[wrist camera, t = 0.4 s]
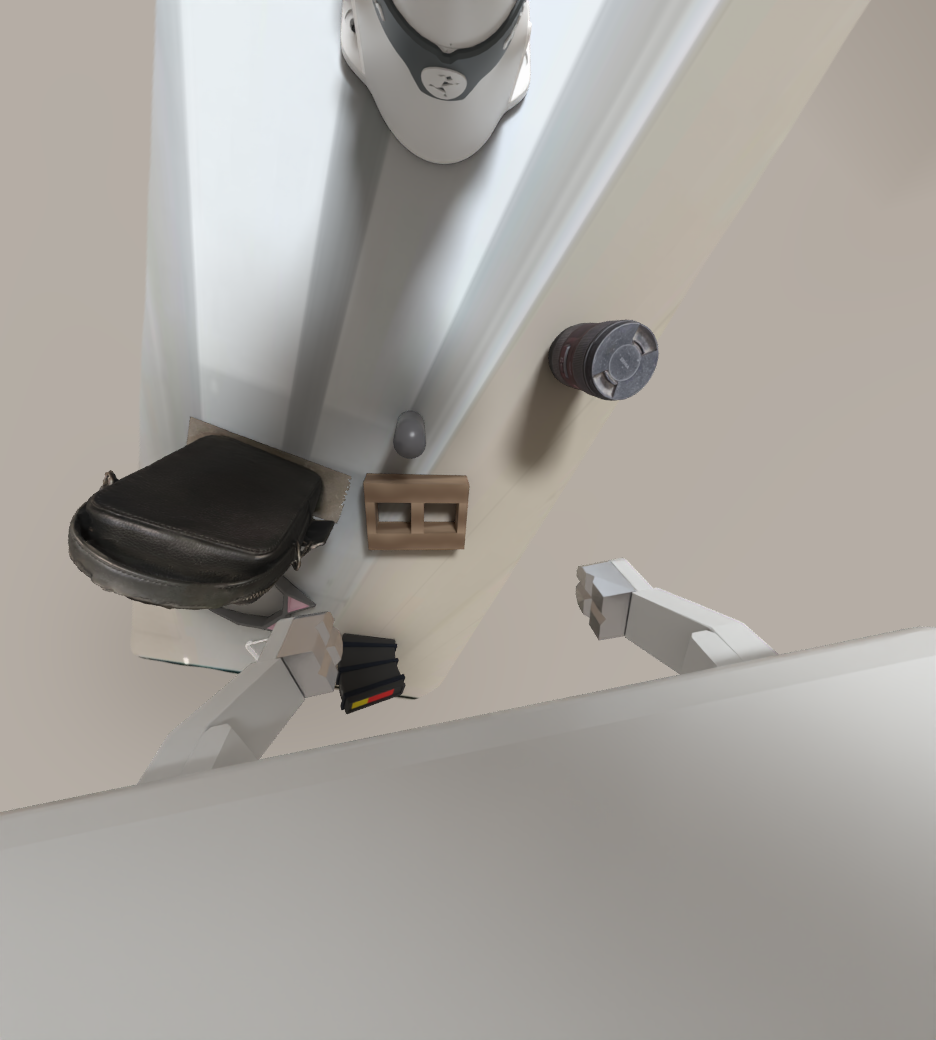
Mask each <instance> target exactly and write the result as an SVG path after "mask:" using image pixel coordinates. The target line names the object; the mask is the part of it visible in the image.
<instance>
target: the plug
mask: <svg viewBox="0 0 936 1040" xmlns="http://www.w3.org/2000/svg"><path fill="white" fill-rule="evenodd" d="M393 443H394V448H395V450H396V451H397V453H398V454H399V455H401V456H402V457H404V458H409V459H412V458H416V457H418V456H420V455H421V454H422V453H423V452H424V450H425V446H426V439H425V425H424V420H423V418H422V416H421V415H420V414H418V413H417V412H414V411H407V412H404V413H403V414H401V416H400V417H399V419H398V423H397V427H396V431H395V436H394V441H393Z"/></svg>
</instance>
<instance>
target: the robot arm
mask: <svg viewBox="0 0 936 1040" xmlns="http://www.w3.org/2000/svg"><path fill="white" fill-rule="evenodd" d="M354 24H355V30H356V33H354V32H353V31H352V30H351V27H352V25H354ZM530 34H531V23H530V6H529V0H343V4H342V19H341V34H340V39H341V48H342V53H343V56H344V58H345V60H346V62H347V64H348V65H349V67H350V68H351V69H352V70H353V71H354V73H355V74H356V75H357V76H358V77H359V78H360V79H361V80H362V81H363V82H364V84H365V85H366V86H367V87H368V89H369V90H370V92H371V94H372V96H373V98H374V100H375V102H376V104H377V106H378V109H379V111H380V113H381V115H382V117H383V119H384V120H385V122H386V124H387V126H388V127H389V129H390V130H391V131H392V133H393V134H394V135H395V137H396V138H397V139H398V140H399V141H400V142H401V143H402V144H403V145H404V146H405V147H406V148H407V149H408V150H409V151H411V152H412V153H413V154H415V155H416V156H418V157H420V158H422V159H424V160H427V161H429V162H433V163H438V164H451V163H456V162H459V161H462V160H464V159H466V158H468V157H470V156H471V155H473V154H474V153H475V152H477V151H478V150H479V149H480V148H481V147H482V146H483V145H484V144H485V143H486V141H487V140H488V139H489V137H490V136H491V134H492V133H493V131H494V129H495V127H496V126H497V124H498V122H499V120H500V119H501V117H502V116H503V115H504V113H505V112H507V111H508V110H509V109H511V108H512V107H514V106H515V105H516V104H518V103H519V102H520V101H521V100H522V99H523V98H524V96H525V95H526V93H527V91H528V88H529V84H530V78H531V63H530ZM577 578H578V579H579V581H580V582H579V583H578V585H577V586H576V597H577V602H578V605H579V607H580V609H581V611H582V613H583V614H584V615H586V616H588V617H589V618H590V621H589V625H590V626H591V628H592V630H593V631H594V633H595V635H596V636H597V638H598V640H604V639H610V638H616V637H621V636H625V638H627V639H628V640H630V641H631V642H633V643H634V644H636V645H637V646H639V647H640V648H642V649H643V650H645V651H646V652H647V653H649V654H651V655H652V656H653V657H655V658H656V659H658V660H660V661H661V662H662V663H664V664H665V665H667V666H668V667H670V668H671V669H673V670H674V671H676V672H677V673H679V674H680V675H676V676H671V677H666V678H661V679H656V680H651V681H647V682H641V683H636V684H631V685H626V686H621V687H617V688H611V689H606V690H602V691H597V692H592V693H587V694H582V695H577V696H572V697H567V698H563V699H557V700H552V701H547V702H542V703H537V704H533V705H527V706H523V707H518V708H513V709H508V710H503V711H498V712H493V713H488V714H483V715H478V716H473V717H468V718H464V719H458V720H453V721H449V722H443V723H439V724H434V725H429V726H423V727H418V728H414V729H409V730H404V731H399V732H394V733H389V734H385V735H379V736H374V737H369V738H364V739H359V740H354V741H349V742H344V743H340V744H335V745H329V746H324V747H320V748H315V749H310V750H305V751H300V752H295V753H290V754H285V755H280V756H275V757H270V758H265V759H260V758H261V756H262V755H263V754H264V752H265V751H266V750H267V748H268V747H269V746H270V745H271V743H272V742H273V740H274V739H275V738H276V737H277V735H278V734H279V733H280V731H281V730H282V728H284V726H285V725H286V724H287V722H288V721H289V720H290V718H291V717H292V716H293V715H294V713H295V712H296V711H297V709H298V708H299V707H300V705H301V704H302V703H303V702H304V700H305V698H307V697H311V696H315V695H320V694H325V693H329V692H333V691H334V687H335V683H336V678H337V674H338V671H337V669H336V667H335V666H336V665H337V664H338V662H339V661H340V660H341V657H342V653H343V642H342V637H341V634H340V631H339V630H338V629H336V628H335V627H333V624H334V618H333V616H332V614H331V612H328V611H327V612H321V613H314V614H308V615H302V616H296V617H291V618H284V619H280V620H279V621H278V622H277V623H276V624H275V626H274V628H273V630H272V632H271V634H270V636H269V638H268V640H267V642H266V644H265V646H264V648H263V650H262V652H261V654H260V656H259V658H258V660H257V662H256V663H251V664H250V665H249V666H248V667H247V668H245V669H244V670H243V671H242V672H241V673H239V674H238V675H237V676H236V677H235V678H234V679H232V680H231V681H230V682H229V683H228V684H227V685H225V686H224V687H223V688H222V689H221V690H219V691H218V692H217V693H216V694H215V695H214V696H212V697H211V698H210V699H209V700H208V701H207V702H206V703H204V704H203V705H202V706H201V707H200V708H198V709H197V710H196V711H195V712H194V713H192V714H191V715H190V716H189V717H188V718H187V719H185V720H184V721H183V722H182V723H181V724H180V725H178V726H177V727H176V728H175V729H174V730H172V731H171V732H170V733H169V734H168V736H167V737H166V739H165V741H164V742H163V744H162V745H161V747H160V749H159V750H158V752H157V754H156V755H155V757H154V758H153V760H152V761H151V763H150V765H149V766H148V768H147V769H146V771H145V772H144V774H143V776H142V777H141V779H140V781H139V782H138V784H137V785H132V786H127V787H122V788H117V789H112V790H107V791H102V792H97V793H92V794H87V795H82V796H78V797H73V798H68V799H63V800H58V801H53V802H48V803H43V804H38V805H33V806H28V807H23V808H18V809H14V810H9V811H4V812H0V1040H936V627H915V628H908V629H902V630H897V631H893V632H888V633H883V634H878V635H874V636H868V637H864V638H859V639H854V640H849V641H844V642H840V643H835V644H829V645H825V646H820V647H815V648H810V649H805V650H800V651H796V652H790V653H785V654H780V655H779V654H778V653H777V652H776V651H775V650H773V649H772V648H771V647H770V646H769V645H768V644H766V643H765V642H764V641H763V640H762V639H761V638H760V637H759V636H757V635H756V634H755V633H754V632H753V631H752V630H751V629H750V628H748V627H747V626H746V625H745V624H744V623H743V622H741V621H738V620H736V619H734V618H731V617H729V616H726V615H724V614H721V613H719V612H716V611H714V610H711V609H709V608H706V607H704V606H702V605H699V604H697V603H694V602H691V601H689V600H687V599H685V598H682V597H680V596H677V595H675V594H672V593H670V592H667V591H665V590H663V589H660V588H652V586H650V584H649V583H648V582H647V581H646V580H645V579H644V578H643V577H642V576H641V575H640V574H639V573H638V572H637V571H636V570H635V568H634V567H633V566H632V565H631V564H630V563H629V562H628V561H627V560H626V559H624V558H618V559H613V560H608V561H605V562H600V563H594V564H589V565H583V566H578V569H577ZM259 759H260V760H259Z"/></svg>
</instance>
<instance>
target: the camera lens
mask: <svg viewBox="0 0 936 1040" xmlns="http://www.w3.org/2000/svg"><path fill="white" fill-rule="evenodd" d="M548 360H549V366H550V369H551V371H552V373H553V375H554V376H555V378H556V379H557V380H559V381H560V382H562V383H563V384H565V385H566V386H569V387H572V388H575V389H580V390H582V391H584V392H586V393H587V394H589V395H592V396H595V397H598V398H601V399H604V400H611V401H612V400H623V399H626V398H629V397H631V396H633V395H635V394H636V393H638V392H639V391H640V390H641V389H642V388H643V387H644V386H645V385H646V384H647V383H648V381H649V380H650V378H651V376H652V374H653V373H654V370H655V368H656V365H657V361H658V344H657V341H656V338H655V336H654V334H653V333H652V331H651V330H650V329H649V328H648V327H646V326H645V325H643V324H641V323H639V322H637V321H633V320H620V321H606V322H602V323H581V324H577V325H574V326H571V327H569V328H567V329H565V330H564V331H563V332H561V333H560V334H559V335H558V336H557V337H556V339H555V340H554V341H553V343H552V345H551V347H550V350H549V357H548Z"/></svg>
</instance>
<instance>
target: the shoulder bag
mask: <svg viewBox="0 0 936 1040" xmlns="http://www.w3.org/2000/svg"><path fill="white" fill-rule="evenodd" d="M348 479H351V476H349V475H346V474H343V473H340V472H338V471H335V470H332V469H330V468H327V467H324V466H322V465H319V464H316V463H313V462H311V461H308V460H305V459H303V458H300V457H297V456H295V455H292V454H289V453H286V452H284V451H281V450H278V449H276V448H273V447H270V446H268V445H265V444H262V443H259V442H256V441H254V440H251V439H249V438H246V437H243V436H240V435H238V434H235V433H232V432H229V431H227V430H224V429H222V428H219V427H217V426H214V425H211V424H209V423H206V422H203V421H201V420H198V419H195V418H192V417H190V423H189V430H188V437H187V445H186V446H185V447H184V448H181V449H179V450H178V451H175V452H173V453H171V454H169V455H168V456H165V457H164V458H162V459H160V460H158V461H156V462H155V463H153V464H151V465H150V466H146V467H145V468H143V469H140V470H138V471H137V472H134V473H132V474H130V475H128V476H126V477H124V478H122V479H120V480H118V479H117V478H116V476H115V474H114V473H113V471H111V470H110V471H109V472H106V473H105V478H104V480H103V486H101V488H100V490H99V491H98V492H96V493H95V494H93V496H92V497H90V498H89V499H88V501H87V502H85V503H84V504H83V505H82V506H81V507H80V508H79V509H78V510H77V511H76V513H75V515H74V516H73V518H72V520H71V522H70V527H69V535H68V538H69V539H68V540H69V541H68V544H69V555H70V558H71V560H72V561H73V562H74V564H75V565H76V566H77V567H78V569H79V570H80V571H81V572H83V573H84V574H85V575H87V576H88V577H90V578H91V580H92V582H93V583H94V584H96V585H98V586H100V587H101V588H103V590H105V591H108V592H114V593H117V594H119V595H124V596H126V597H127V598H129V599H131V600H135V601H139V602H142V603H145V604H152V605H156V606H162V607H165V608H167V609H172V608H176V609H192V610H199V609H217V608H220V607H222V606H226V605H229V604H236V605H246V604H250V603H253V602H255V601H257V599H259V598H260V597H261V596H262V595H263V594H264V593H267V591H269V590H270V589H271V588H272V586H273V585H274V584H275V583H276V582H277V581H278V579H279V578H280V577H281V576H282V575H283V574H284V573H285V572H286V571H287V569H288V568H289V566H290V565H292V566H293V568H294V570H296V571H298V569H299V568H300V566H301V558H302V557H303V556H305V554H307V553H308V552H309V551H310V550H311V549H314V548H316V547H318V546H320V545H324V544H325V543H326V541H327V539H328V537H329V535H330V532H331V530H332V529H333V526H334V524H335V523H337V521H338V520H339V517H340V516H339V515H341V512H342V508H343V506H344V504H343V506H342V505H341V504H342V503H343V501H345V499H343V498H345V496H344V495H347V494H346V493H345V491H346V490H347V491H348V490H349V488H347V486H349V484H350V482H349V480H348ZM349 487H350V486H349ZM339 506H340V507H339ZM312 516H315V517H318V518H321V519H324V520H315V519H313V518H312ZM301 546H304V547H305V548H304V550H303V551H300V549H301ZM306 549H307V550H306ZM305 551H306V552H305ZM296 561H297V563H296Z"/></svg>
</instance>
